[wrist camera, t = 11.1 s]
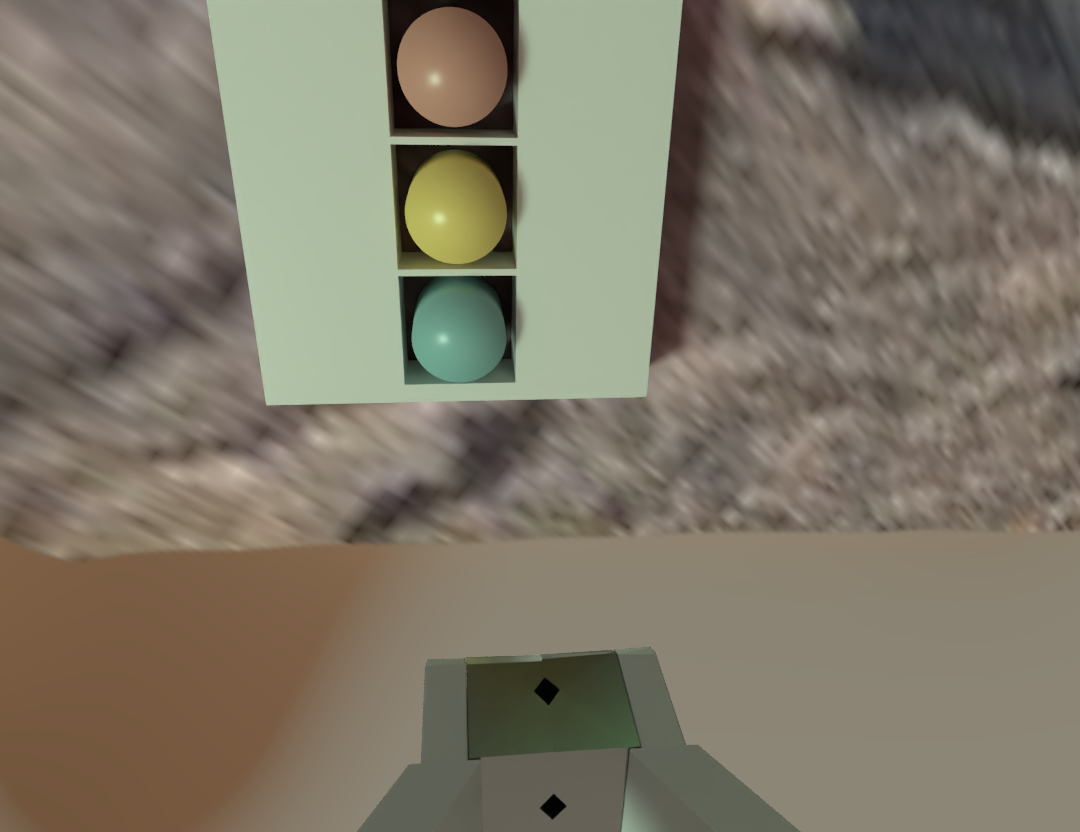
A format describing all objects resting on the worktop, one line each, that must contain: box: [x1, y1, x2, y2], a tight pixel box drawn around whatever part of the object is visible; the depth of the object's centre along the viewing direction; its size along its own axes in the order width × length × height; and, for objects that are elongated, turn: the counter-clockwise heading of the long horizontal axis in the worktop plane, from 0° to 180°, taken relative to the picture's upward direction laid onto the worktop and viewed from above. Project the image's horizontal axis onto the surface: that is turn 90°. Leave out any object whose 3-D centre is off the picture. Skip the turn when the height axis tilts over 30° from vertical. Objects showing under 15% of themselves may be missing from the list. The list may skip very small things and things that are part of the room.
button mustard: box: [405, 149, 507, 264], centre depth 34 cm, size 4×4×4 cm
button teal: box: [412, 276, 507, 383], centre depth 36 cm, size 4×4×4 cm
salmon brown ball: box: [397, 7, 507, 127], centre depth 31 cm, size 4×4×4 cm
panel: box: [207, 0, 683, 405], centre depth 34 cm, size 18×18×3 cm
